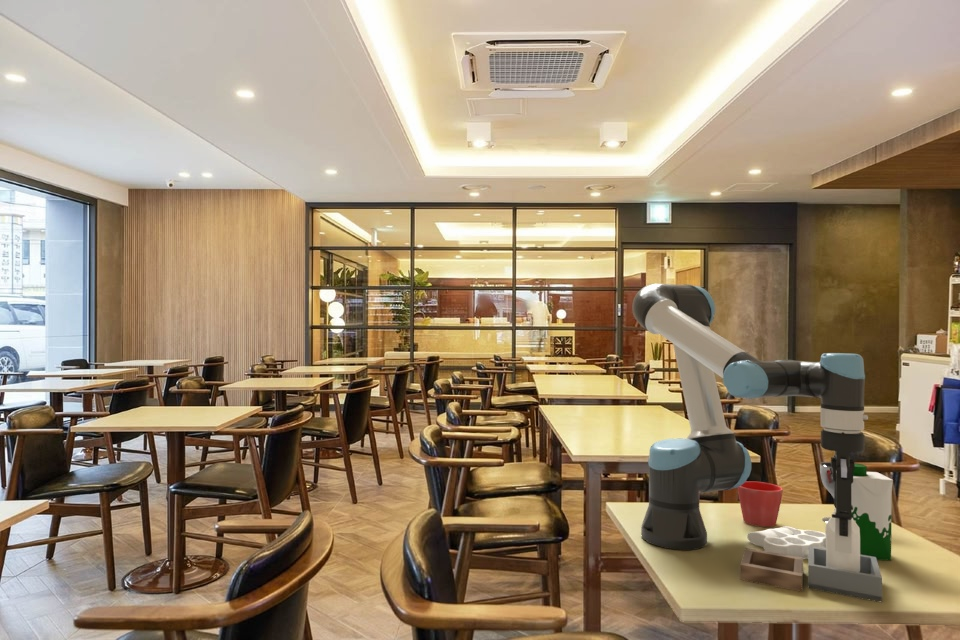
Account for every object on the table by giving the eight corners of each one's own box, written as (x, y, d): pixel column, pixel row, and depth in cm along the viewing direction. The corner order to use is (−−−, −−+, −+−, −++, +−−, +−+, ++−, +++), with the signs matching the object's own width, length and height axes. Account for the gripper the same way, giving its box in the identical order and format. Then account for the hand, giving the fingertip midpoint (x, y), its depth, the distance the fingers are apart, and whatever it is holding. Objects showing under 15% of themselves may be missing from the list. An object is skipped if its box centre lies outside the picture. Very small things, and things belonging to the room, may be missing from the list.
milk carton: (837, 545, 140) (837, 460, 140) (880, 548, 138) (879, 462, 138) (852, 559, 131) (852, 468, 132) (898, 562, 129) (898, 471, 130)
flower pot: (747, 513, 164) (747, 478, 164) (789, 523, 156) (789, 486, 156) (729, 521, 157) (729, 484, 157) (772, 532, 149) (772, 493, 149)
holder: (740, 579, 120) (740, 564, 120) (745, 561, 129) (745, 547, 129) (802, 591, 114) (802, 576, 114) (803, 572, 124) (803, 557, 124)
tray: (808, 588, 116) (808, 565, 116) (808, 567, 126) (808, 546, 126) (882, 602, 110) (882, 578, 110) (876, 579, 120) (875, 557, 121)
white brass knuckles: (790, 535, 148) (847, 555, 135) (737, 545, 141) (792, 567, 127) (790, 521, 148) (847, 540, 135) (737, 530, 141) (792, 551, 127)
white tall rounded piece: (830, 510, 116) (821, 502, 122) (831, 572, 116) (821, 561, 122) (864, 513, 115) (853, 505, 121) (865, 575, 115) (854, 564, 120)
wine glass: (861, 526, 154) (861, 468, 154) (830, 526, 154) (830, 468, 154) (843, 517, 162) (843, 461, 162) (814, 516, 162) (813, 461, 162)
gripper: (868, 438, 109) (868, 566, 108) (861, 425, 125) (861, 536, 125) (821, 435, 113) (821, 558, 112) (820, 422, 129) (820, 530, 128)
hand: (842, 546), depth 118 cm, fingers closed on white tall rounded piece, 5 cm apart
